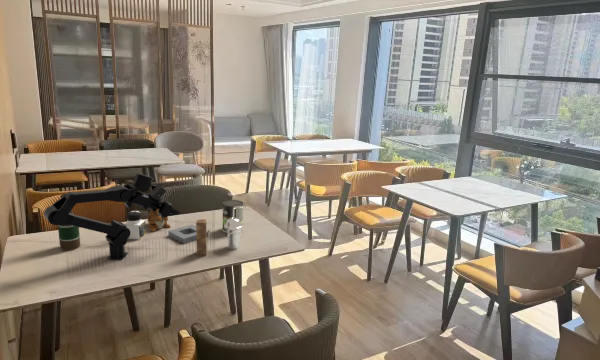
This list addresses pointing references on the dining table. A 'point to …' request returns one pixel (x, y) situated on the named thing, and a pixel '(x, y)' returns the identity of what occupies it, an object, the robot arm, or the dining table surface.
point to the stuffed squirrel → (157, 221)
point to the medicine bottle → (135, 225)
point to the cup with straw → (233, 230)
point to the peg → (201, 237)
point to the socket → (180, 234)
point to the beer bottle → (69, 236)
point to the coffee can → (228, 211)
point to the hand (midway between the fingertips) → (174, 210)
